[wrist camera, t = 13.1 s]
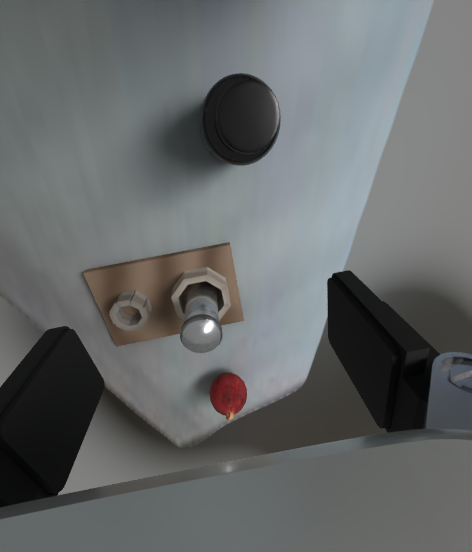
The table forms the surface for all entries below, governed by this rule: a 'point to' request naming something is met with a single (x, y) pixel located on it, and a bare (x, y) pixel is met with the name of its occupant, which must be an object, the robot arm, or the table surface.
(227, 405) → the onion
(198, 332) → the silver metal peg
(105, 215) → the table surface
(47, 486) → the robot arm
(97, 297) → the fitting board
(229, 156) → the supplement bottle
